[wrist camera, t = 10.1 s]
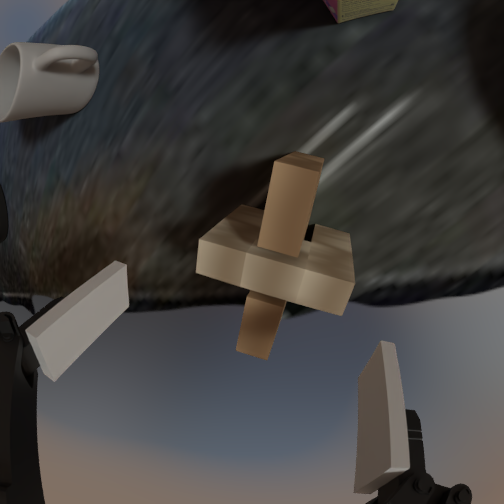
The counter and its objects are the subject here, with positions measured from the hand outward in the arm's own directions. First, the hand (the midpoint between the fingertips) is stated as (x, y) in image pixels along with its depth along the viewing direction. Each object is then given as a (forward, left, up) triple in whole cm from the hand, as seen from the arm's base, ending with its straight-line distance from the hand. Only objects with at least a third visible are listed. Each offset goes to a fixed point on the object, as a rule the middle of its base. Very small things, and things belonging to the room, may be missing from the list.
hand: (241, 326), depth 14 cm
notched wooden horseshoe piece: (0, 0, -14) cm, 14 cm away
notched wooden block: (0, 0, -14) cm, 14 cm away
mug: (-26, +13, -14) cm, 33 cm away
